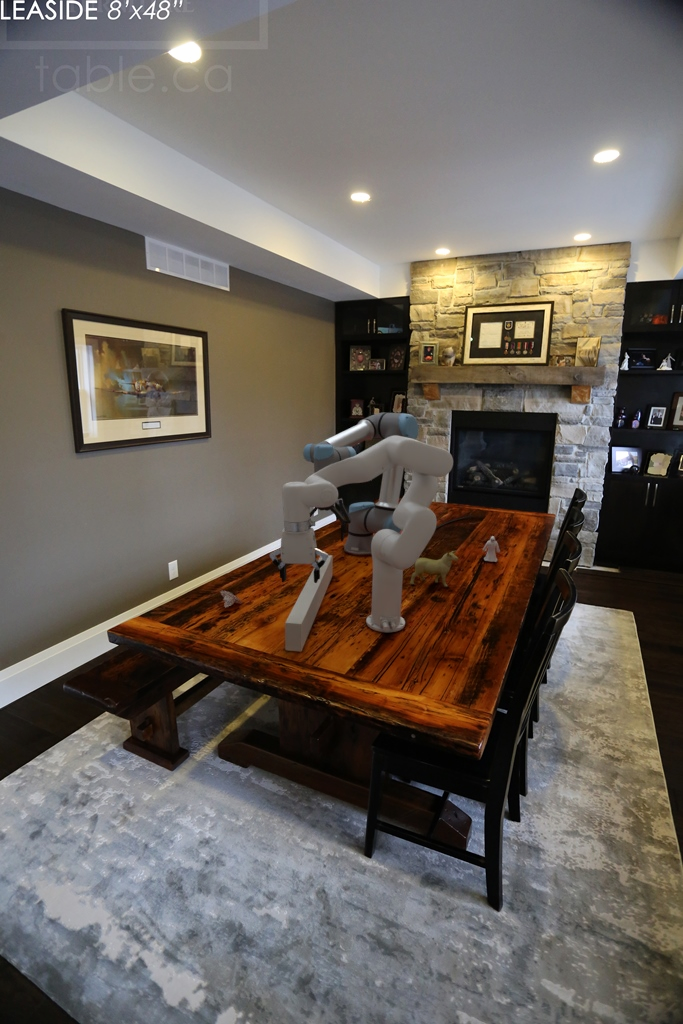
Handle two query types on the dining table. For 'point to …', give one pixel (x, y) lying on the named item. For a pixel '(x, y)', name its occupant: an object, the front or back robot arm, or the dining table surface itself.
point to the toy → (434, 567)
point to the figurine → (491, 550)
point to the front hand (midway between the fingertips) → (300, 580)
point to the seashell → (229, 598)
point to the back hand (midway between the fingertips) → (324, 539)
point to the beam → (307, 607)
